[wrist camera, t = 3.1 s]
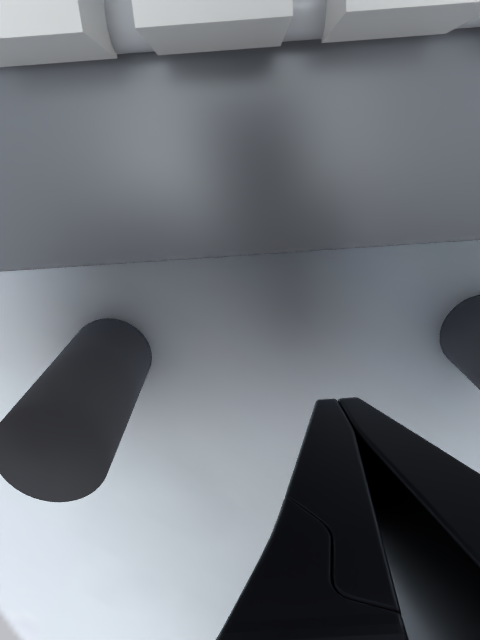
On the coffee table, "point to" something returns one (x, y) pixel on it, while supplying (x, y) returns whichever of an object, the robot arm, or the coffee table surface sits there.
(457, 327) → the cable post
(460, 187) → the breaker panel
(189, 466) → the coffee table surface
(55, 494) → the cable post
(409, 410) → the coffee table surface
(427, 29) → the breaker paddles
